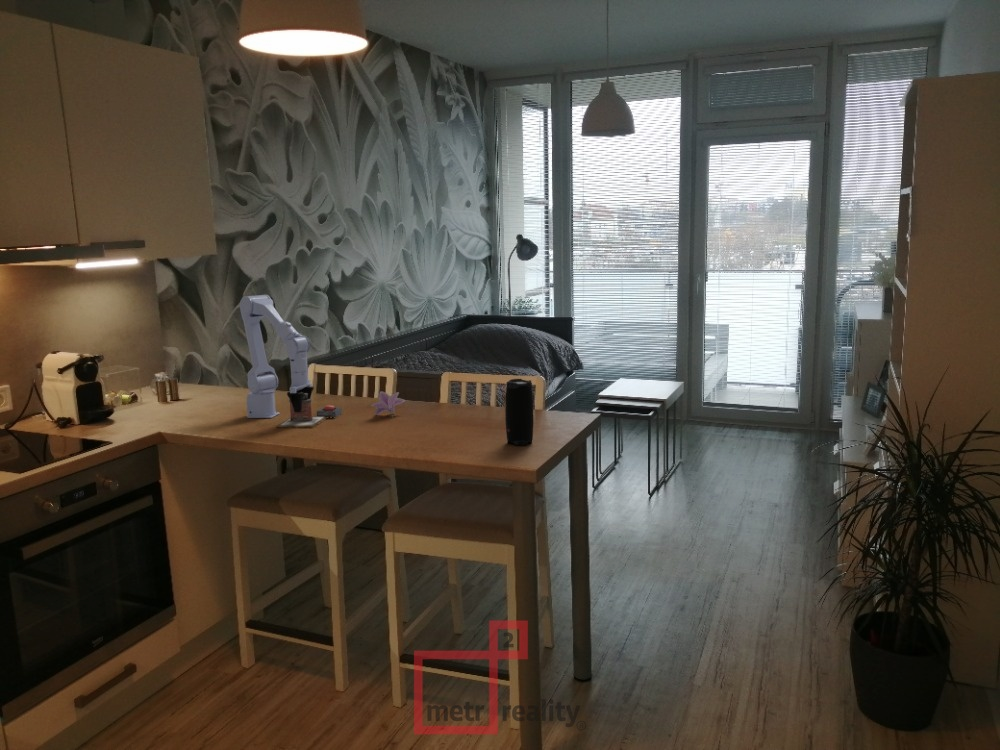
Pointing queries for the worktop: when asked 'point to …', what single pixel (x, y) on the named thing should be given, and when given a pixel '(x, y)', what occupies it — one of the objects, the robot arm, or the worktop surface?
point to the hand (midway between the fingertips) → (301, 409)
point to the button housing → (330, 412)
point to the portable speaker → (519, 411)
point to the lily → (387, 402)
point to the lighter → (302, 410)
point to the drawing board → (302, 424)
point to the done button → (329, 407)
